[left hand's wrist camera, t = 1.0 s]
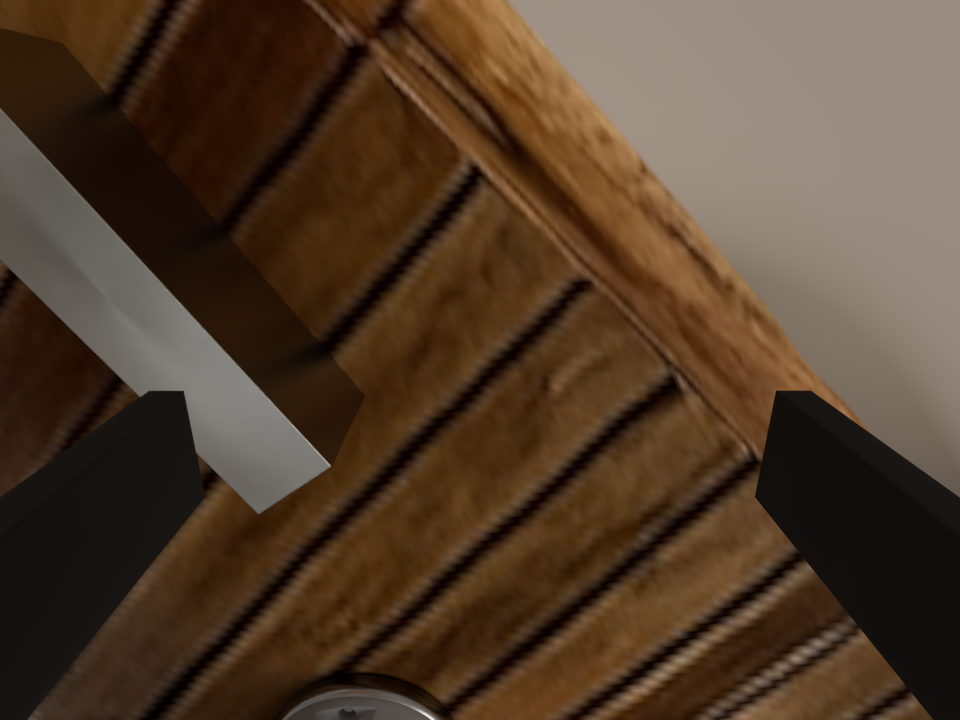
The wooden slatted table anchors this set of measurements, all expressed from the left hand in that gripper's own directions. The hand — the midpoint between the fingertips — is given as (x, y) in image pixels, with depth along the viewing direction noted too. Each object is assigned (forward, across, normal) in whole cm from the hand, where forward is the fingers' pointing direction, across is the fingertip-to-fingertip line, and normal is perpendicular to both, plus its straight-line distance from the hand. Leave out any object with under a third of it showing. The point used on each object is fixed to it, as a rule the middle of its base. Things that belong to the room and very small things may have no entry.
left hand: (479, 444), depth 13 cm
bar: (+21, +16, 0) cm, 27 cm away
